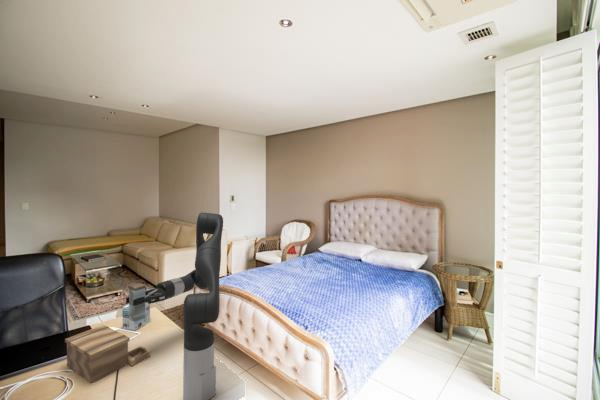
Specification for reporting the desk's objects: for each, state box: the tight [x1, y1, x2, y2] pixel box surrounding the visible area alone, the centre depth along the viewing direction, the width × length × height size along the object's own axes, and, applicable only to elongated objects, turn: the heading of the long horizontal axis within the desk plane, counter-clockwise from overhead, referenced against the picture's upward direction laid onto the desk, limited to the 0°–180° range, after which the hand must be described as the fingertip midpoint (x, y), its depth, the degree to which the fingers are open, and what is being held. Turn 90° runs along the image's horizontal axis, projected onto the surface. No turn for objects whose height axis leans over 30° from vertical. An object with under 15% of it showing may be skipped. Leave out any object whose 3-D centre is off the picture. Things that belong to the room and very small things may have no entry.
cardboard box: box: [64, 324, 152, 384], centre depth 106 cm, size 21×20×10 cm
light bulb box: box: [121, 303, 151, 332], centre depth 134 cm, size 11×7×11 cm, turn 168°
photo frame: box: [108, 326, 142, 343], centre depth 121 cm, size 15×1×18 cm
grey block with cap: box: [128, 282, 147, 322], centre depth 107 cm, size 4×4×13 cm
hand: (130, 301), depth 105 cm, fingers closed on grey block with cap, 4 cm apart
